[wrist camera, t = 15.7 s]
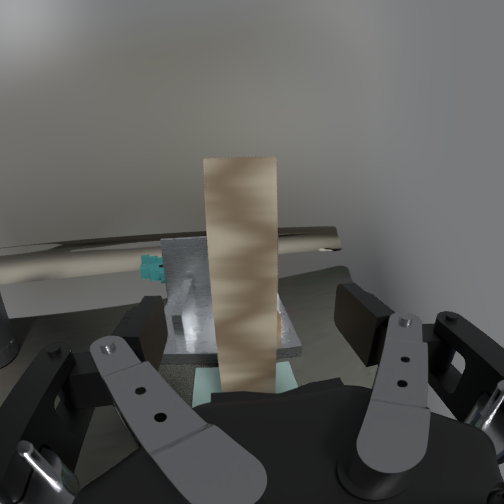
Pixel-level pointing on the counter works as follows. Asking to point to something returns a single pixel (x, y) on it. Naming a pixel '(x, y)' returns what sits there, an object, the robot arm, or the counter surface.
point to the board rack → (201, 306)
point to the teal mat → (211, 383)
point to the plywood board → (243, 269)
